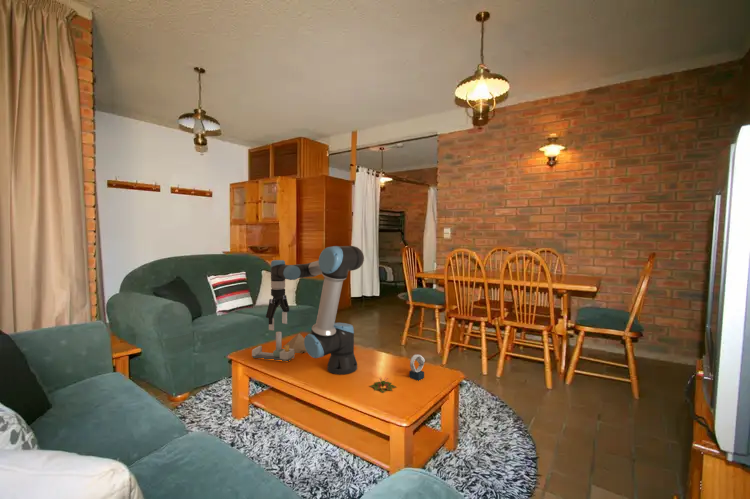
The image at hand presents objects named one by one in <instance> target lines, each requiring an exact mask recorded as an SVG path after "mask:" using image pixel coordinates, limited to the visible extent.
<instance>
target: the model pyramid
mask: <svg viewBox="0 0 750 499" xmlns="http://www.w3.org/2000/svg"><path fill="white" fill-rule="evenodd" d="M304 339H305V337H304V336H303V335H302V334H301V333H297V334H296V335H295V336H294V337H292V338H291V339H290V340H289V341H288V342H287V343H286V344H284V345H283V346H282V348H283V347H284V348H285V345H289V349H294V355H296V354H295V353H300V354H301V353H302V354H306V353H307V351H306V348H305V345H304ZM284 348H283V349H284ZM303 352H304V353H303Z"/></svg>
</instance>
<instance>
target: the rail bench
mask: <svg viewBox="0 0 750 499" xmlns="http://www.w3.org/2000/svg"><path fill="white" fill-rule="evenodd" d="M262 348H263V346H262V345H258V346H256V347H255V348H253V349H251V358H252V357H253V358H264V359H274V360H282V361H289V360H291V359H292V358H293V359H295V354H294V349H289V351H288V352H286V351H285V349H284V348H283V349H284V350H283V351H281V352H280V357H275V356H274V355H273V352H265V351H262V350H263V349H262ZM293 359H292V360H293ZM292 360H291V361H292ZM289 362H290V361H289Z"/></svg>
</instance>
